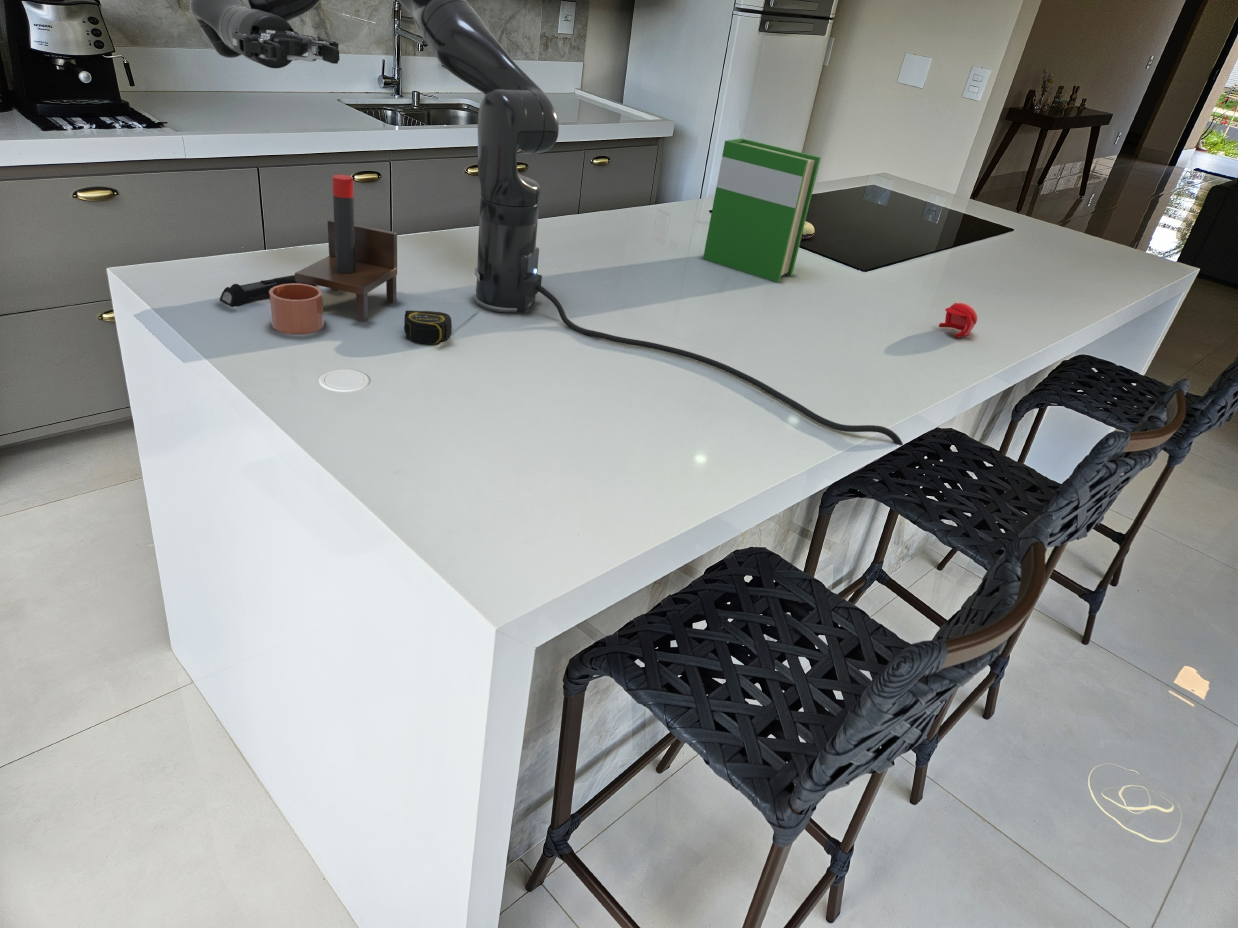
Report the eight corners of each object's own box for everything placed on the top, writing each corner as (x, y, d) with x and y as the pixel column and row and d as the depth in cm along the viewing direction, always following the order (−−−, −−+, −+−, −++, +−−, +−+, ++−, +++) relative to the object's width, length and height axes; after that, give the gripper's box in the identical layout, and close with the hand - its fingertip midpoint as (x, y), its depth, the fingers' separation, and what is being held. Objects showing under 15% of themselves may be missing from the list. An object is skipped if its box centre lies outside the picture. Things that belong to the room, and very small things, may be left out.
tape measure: (450, 332, 127) (451, 309, 125) (451, 350, 122) (452, 326, 120) (404, 329, 126) (404, 306, 124) (402, 348, 120) (402, 323, 118)
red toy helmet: (946, 324, 162) (956, 294, 159) (976, 334, 159) (987, 304, 156) (929, 332, 157) (940, 301, 154) (960, 343, 154) (971, 312, 151)
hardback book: (792, 275, 177) (820, 157, 165) (777, 282, 171) (806, 160, 159) (719, 252, 184) (741, 138, 172) (702, 258, 179) (725, 141, 167)
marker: (359, 269, 128) (356, 177, 121) (349, 274, 126) (346, 180, 119) (342, 266, 129) (338, 173, 122) (332, 271, 126) (328, 177, 119)
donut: (772, 236, 212) (773, 239, 203) (773, 217, 210) (774, 220, 201) (812, 236, 210) (815, 240, 202) (813, 217, 209) (816, 220, 200)
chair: (397, 303, 134) (397, 232, 129) (364, 326, 125) (362, 250, 119) (334, 290, 136) (331, 219, 130) (296, 311, 126) (291, 236, 121)
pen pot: (333, 325, 124) (331, 289, 121) (307, 341, 118) (304, 304, 115) (289, 315, 125) (287, 280, 122) (261, 331, 119) (258, 294, 116)
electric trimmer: (324, 293, 135) (323, 274, 133) (232, 311, 123) (230, 290, 122) (310, 286, 136) (309, 267, 135) (218, 303, 125) (216, 282, 124)
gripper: (211, 7, 125) (256, 22, 115) (304, 14, 133) (353, 29, 124) (217, 62, 128) (260, 81, 119) (307, 66, 137) (354, 84, 128)
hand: (308, 54), depth 121 cm, fingers open, 8 cm apart
